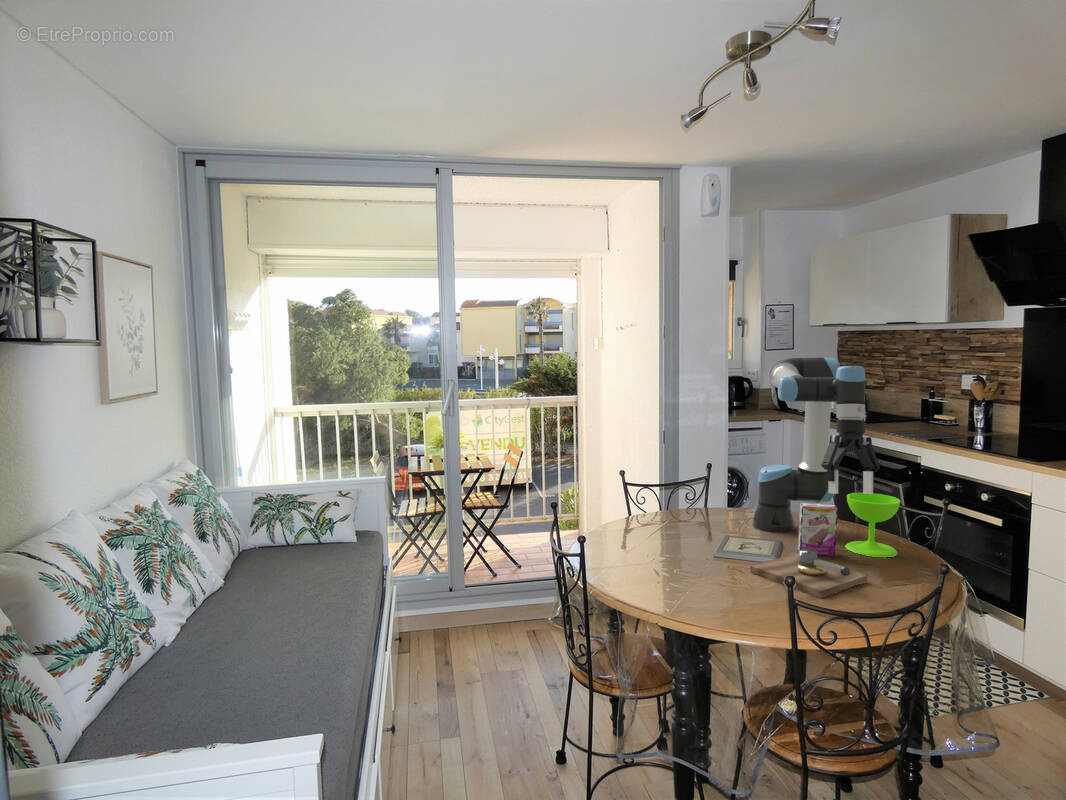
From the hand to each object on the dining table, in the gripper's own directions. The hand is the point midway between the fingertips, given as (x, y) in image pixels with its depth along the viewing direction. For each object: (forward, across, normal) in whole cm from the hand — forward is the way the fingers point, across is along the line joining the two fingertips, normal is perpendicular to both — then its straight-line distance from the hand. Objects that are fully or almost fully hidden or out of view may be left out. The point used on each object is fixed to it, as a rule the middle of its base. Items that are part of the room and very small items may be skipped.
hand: (851, 493), depth 186 cm
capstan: (+24, -2, +8) cm, 25 cm away
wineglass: (+20, +36, +24) cm, 48 cm away
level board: (+26, -3, +14) cm, 29 cm away
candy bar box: (+22, +17, +29) cm, 40 cm away
